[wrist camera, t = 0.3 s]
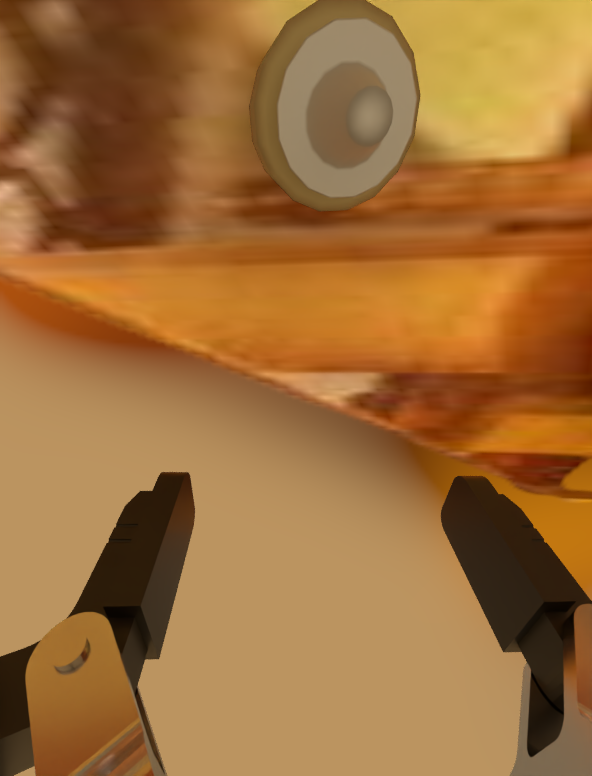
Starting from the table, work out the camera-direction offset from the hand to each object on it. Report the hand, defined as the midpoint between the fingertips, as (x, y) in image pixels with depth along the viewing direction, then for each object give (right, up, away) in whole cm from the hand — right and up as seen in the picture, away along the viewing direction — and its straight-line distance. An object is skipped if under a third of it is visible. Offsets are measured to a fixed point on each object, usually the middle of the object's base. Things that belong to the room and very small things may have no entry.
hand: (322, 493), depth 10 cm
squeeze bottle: (0, +21, +12) cm, 24 cm away
